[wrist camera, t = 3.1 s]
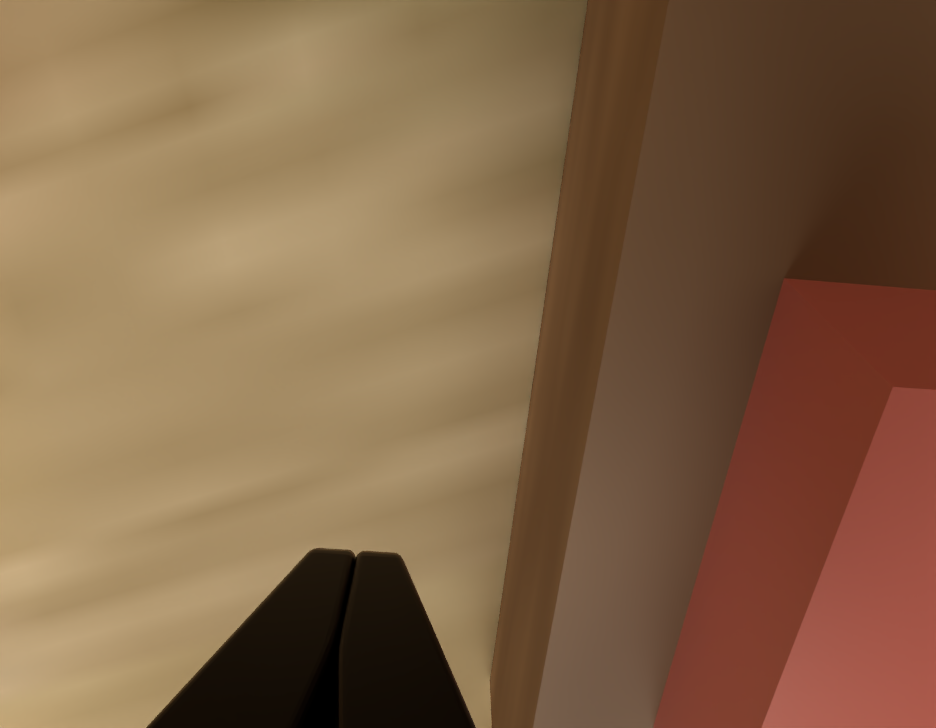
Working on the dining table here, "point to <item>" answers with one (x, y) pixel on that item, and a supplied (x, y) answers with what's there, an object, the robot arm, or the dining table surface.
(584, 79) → the deck
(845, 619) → the terracotta red slab
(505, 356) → the dining table surface
